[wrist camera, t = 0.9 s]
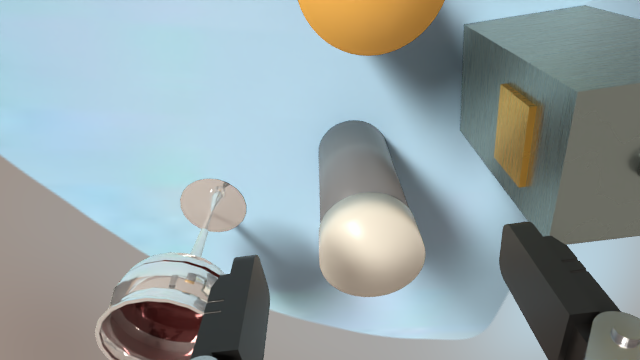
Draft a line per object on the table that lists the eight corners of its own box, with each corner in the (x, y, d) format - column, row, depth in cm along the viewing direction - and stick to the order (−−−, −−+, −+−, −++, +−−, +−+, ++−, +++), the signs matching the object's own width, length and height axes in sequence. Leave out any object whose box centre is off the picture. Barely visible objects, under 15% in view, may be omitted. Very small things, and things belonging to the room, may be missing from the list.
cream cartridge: (312, 124, 27) (311, 225, 18) (385, 114, 27) (424, 210, 17) (322, 186, 30) (327, 302, 20) (389, 177, 29) (425, 290, 20)
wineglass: (211, 150, 28) (153, 275, 18) (276, 211, 31) (258, 349, 21) (149, 201, 30) (65, 337, 20) (214, 253, 33) (170, 396, 23)
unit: (459, 25, 24) (578, 99, 13) (590, 4, 23) (826, 63, 13) (455, 131, 28) (547, 257, 17) (569, 115, 27) (738, 234, 16)
